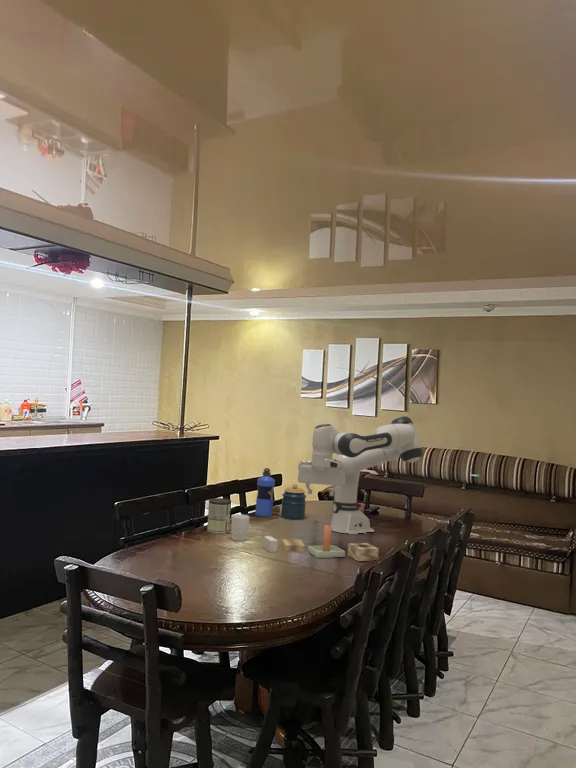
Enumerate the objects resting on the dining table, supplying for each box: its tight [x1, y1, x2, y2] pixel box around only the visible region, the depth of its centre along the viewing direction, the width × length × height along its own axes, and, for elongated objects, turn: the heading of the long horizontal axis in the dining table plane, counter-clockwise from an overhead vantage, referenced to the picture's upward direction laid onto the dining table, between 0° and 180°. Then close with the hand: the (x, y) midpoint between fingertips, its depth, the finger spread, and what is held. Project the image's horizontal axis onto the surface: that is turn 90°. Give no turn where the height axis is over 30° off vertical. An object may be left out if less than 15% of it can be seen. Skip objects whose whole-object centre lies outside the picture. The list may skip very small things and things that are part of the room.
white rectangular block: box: [262, 535, 278, 553], centre depth 239 cm, size 3×8×4 cm, turn 23°
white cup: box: [230, 513, 251, 542], centre depth 253 cm, size 8×8×10 cm
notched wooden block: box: [281, 538, 306, 553], centre depth 243 cm, size 8×10×3 cm
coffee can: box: [206, 497, 232, 534], centre depth 266 cm, size 10×10×14 cm
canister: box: [280, 484, 307, 521], centre depth 309 cm, size 13×13×18 cm
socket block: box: [346, 542, 380, 562], centre depth 235 cm, size 9×9×5 cm
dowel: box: [322, 524, 332, 552], centre depth 237 cm, size 3×3×11 cm
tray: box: [307, 544, 346, 559], centre depth 237 cm, size 12×10×2 cm
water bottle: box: [255, 467, 276, 518], centre depth 311 cm, size 9×9×25 cm
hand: (320, 494), depth 246 cm, fingers open, 8 cm apart
